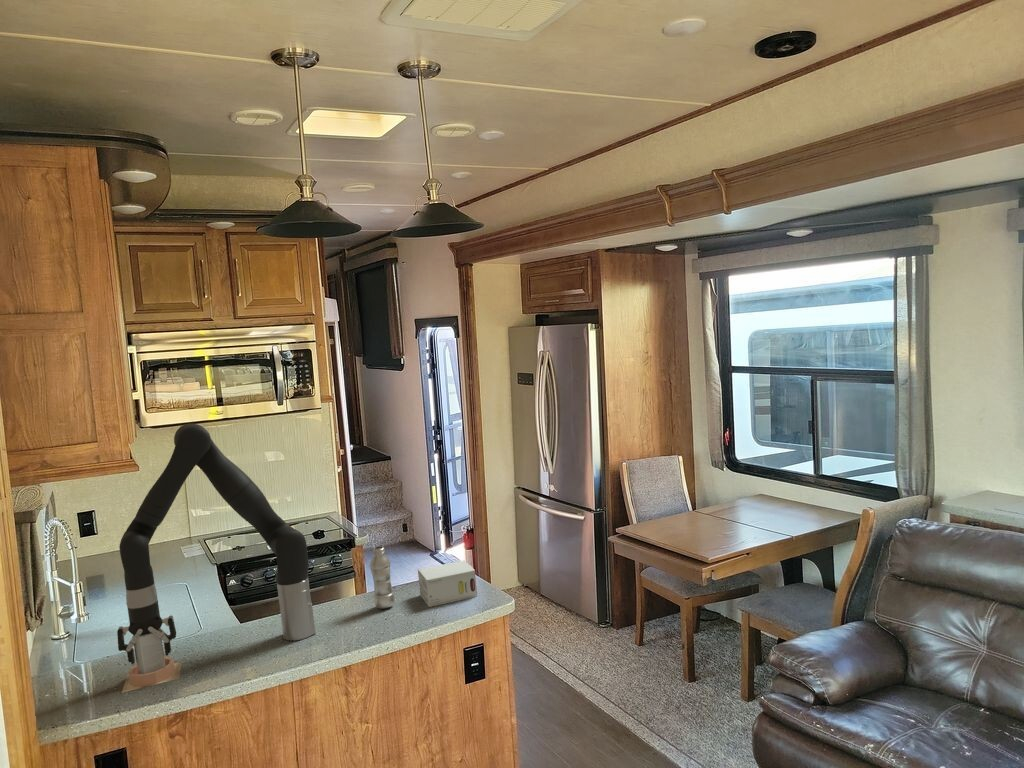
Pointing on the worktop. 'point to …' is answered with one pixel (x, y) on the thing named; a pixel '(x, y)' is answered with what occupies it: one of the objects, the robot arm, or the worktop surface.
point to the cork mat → (173, 677)
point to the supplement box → (447, 583)
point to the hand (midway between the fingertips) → (150, 658)
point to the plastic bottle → (381, 579)
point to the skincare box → (149, 653)
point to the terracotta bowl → (152, 674)
